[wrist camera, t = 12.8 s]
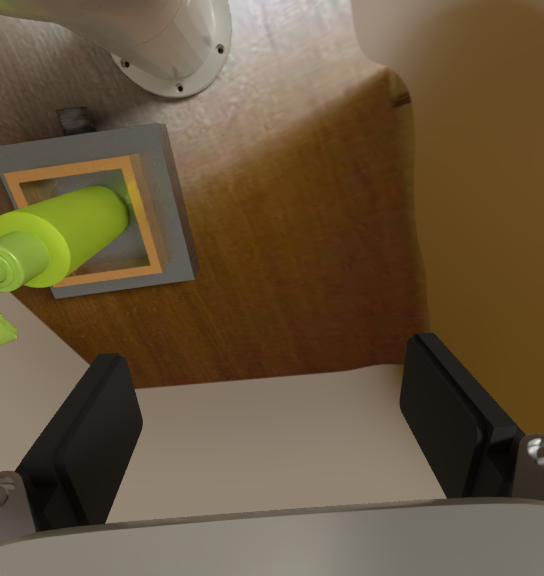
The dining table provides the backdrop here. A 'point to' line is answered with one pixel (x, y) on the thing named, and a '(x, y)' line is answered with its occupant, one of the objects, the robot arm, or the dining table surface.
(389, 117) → the dining table surface
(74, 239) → the green pump bottle
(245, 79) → the dining table surface
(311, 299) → the dining table surface
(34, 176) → the bottle holder tray
